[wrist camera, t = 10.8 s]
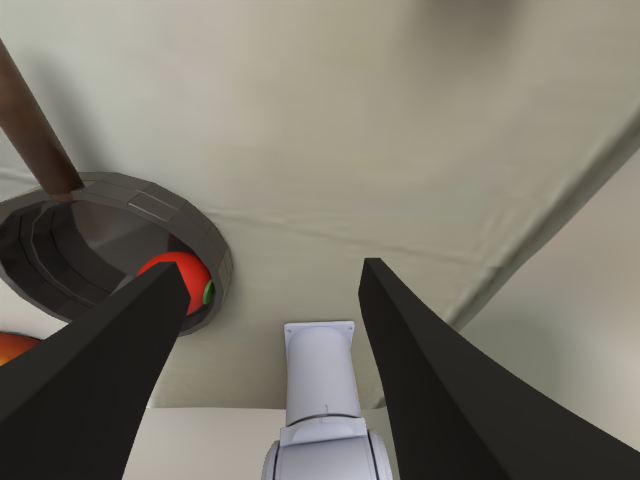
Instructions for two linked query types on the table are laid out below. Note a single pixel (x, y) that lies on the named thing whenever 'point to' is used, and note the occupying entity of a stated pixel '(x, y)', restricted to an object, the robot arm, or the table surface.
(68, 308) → the pan
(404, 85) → the table surface
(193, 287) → the tomato
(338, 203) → the table surface
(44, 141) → the pan handle
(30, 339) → the fruit
